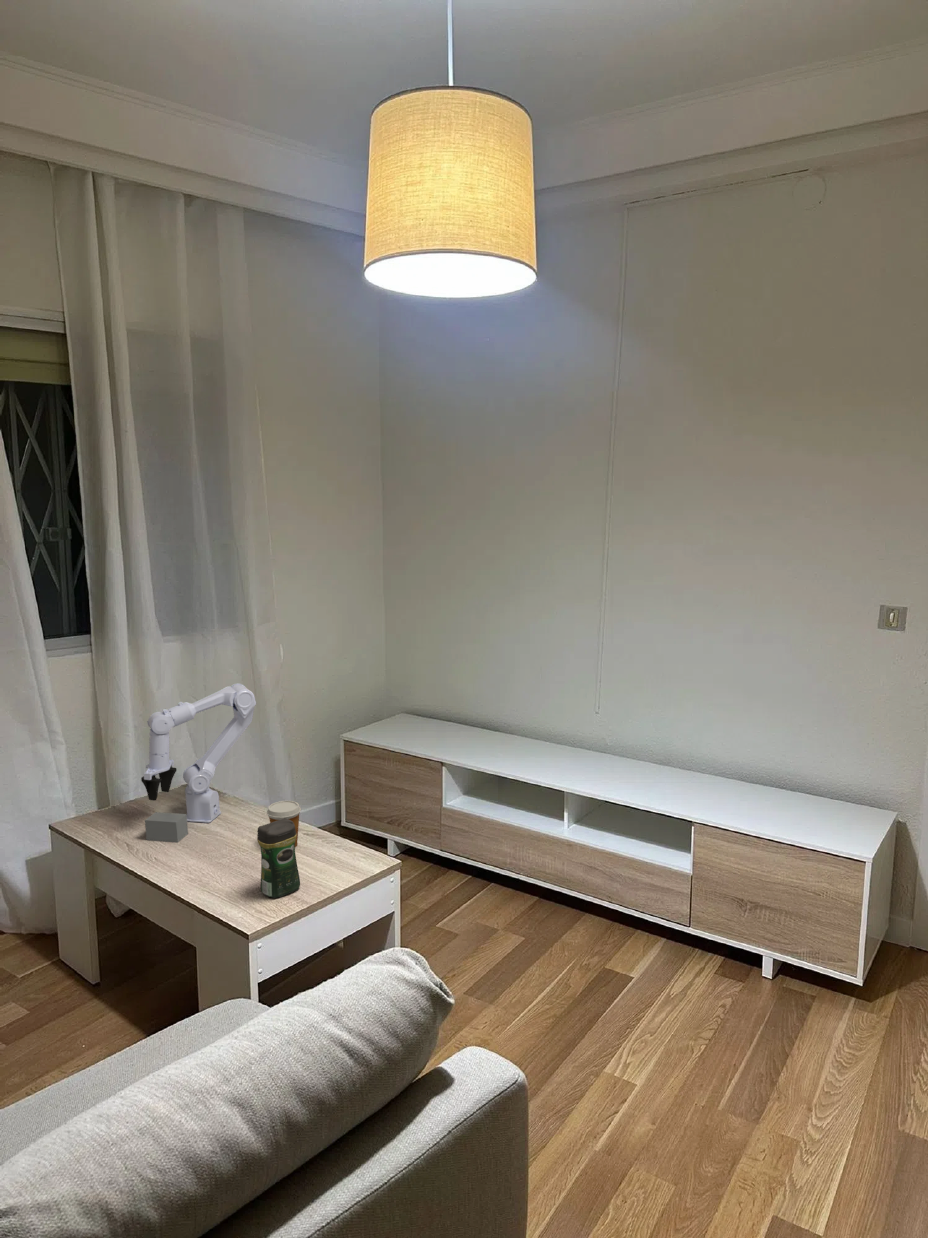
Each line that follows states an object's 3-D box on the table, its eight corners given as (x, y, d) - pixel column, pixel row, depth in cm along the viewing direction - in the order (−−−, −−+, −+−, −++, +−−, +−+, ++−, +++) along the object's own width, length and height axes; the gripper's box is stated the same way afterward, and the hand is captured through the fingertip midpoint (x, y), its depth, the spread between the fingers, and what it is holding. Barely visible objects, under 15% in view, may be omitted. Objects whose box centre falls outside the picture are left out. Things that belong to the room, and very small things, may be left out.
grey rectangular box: (188, 834, 265) (186, 814, 264) (177, 842, 259) (176, 822, 258) (157, 831, 267) (155, 812, 266) (146, 840, 261) (144, 820, 260)
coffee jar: (288, 879, 236) (284, 812, 232) (304, 889, 230) (301, 821, 226) (255, 891, 229) (251, 823, 226) (271, 902, 223) (267, 832, 220)
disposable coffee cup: (299, 853, 251) (296, 813, 248) (265, 853, 251) (262, 813, 249) (305, 838, 260) (303, 799, 258) (273, 839, 260) (270, 800, 258)
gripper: (159, 744, 276) (158, 786, 278) (134, 757, 261) (134, 802, 263) (180, 746, 274) (179, 789, 276) (156, 760, 260) (156, 804, 262)
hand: (159, 795), depth 270 cm, fingers open, 7 cm apart
